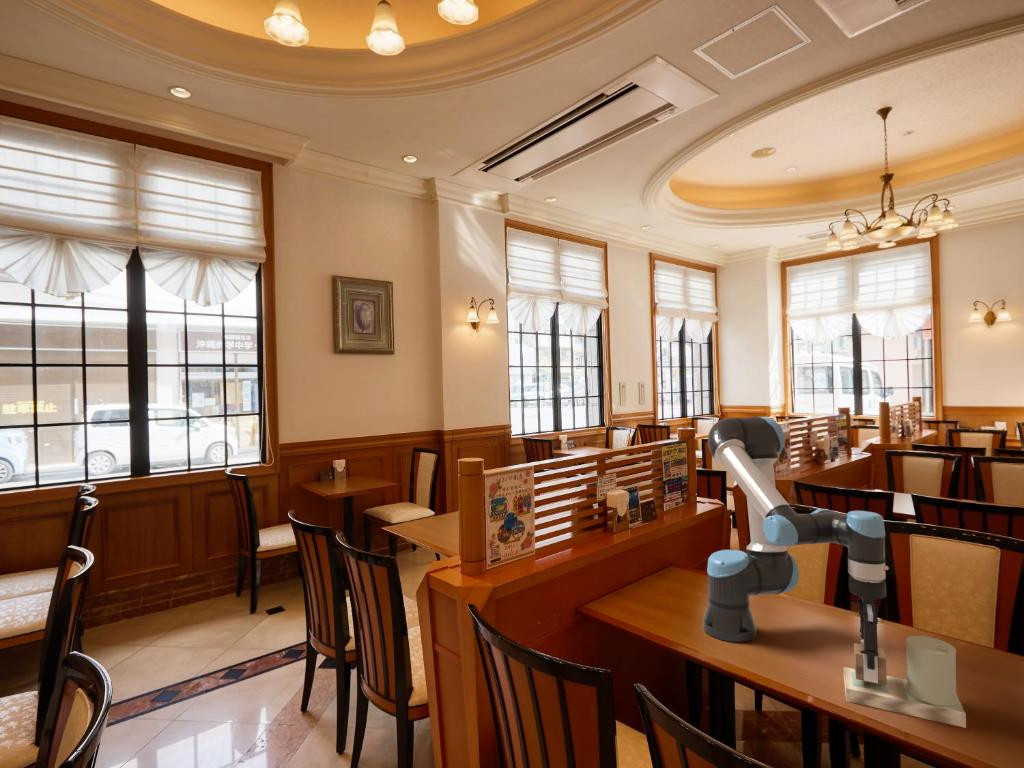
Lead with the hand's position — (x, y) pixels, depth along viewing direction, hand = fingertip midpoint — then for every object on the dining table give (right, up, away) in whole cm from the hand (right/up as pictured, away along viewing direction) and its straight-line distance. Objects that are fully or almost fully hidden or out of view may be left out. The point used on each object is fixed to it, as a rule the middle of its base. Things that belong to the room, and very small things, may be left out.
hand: (869, 674), depth 130 cm
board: (+5, -5, -3) cm, 8 cm away
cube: (0, 0, 0) cm, 0 cm away
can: (+11, -2, -6) cm, 12 cm away
